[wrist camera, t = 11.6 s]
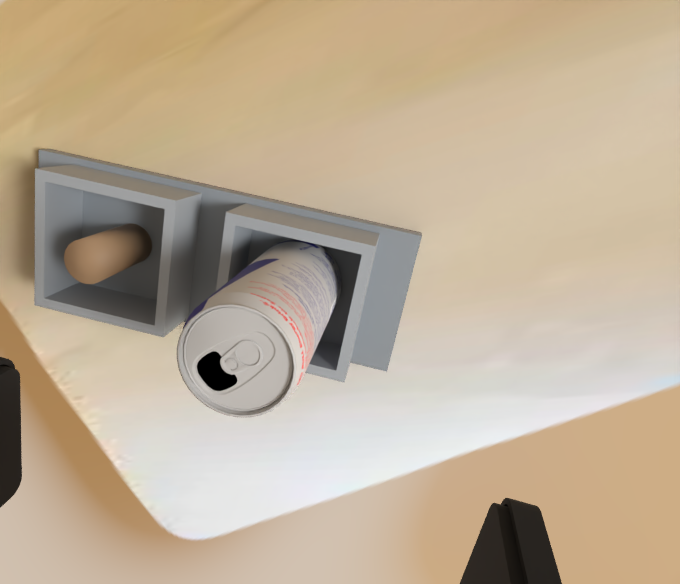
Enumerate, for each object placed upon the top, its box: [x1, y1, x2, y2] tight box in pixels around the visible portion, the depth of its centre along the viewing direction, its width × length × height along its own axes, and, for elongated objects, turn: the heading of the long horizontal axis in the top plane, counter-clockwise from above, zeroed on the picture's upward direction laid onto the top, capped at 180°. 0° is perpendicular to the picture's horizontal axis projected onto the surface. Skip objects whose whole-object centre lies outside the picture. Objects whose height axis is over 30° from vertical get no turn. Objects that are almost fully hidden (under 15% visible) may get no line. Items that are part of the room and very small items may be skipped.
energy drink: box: [177, 239, 342, 417], centre depth 26 cm, size 5×5×12 cm
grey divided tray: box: [35, 149, 422, 382], centre depth 30 cm, size 24×9×6 cm, turn 78°
